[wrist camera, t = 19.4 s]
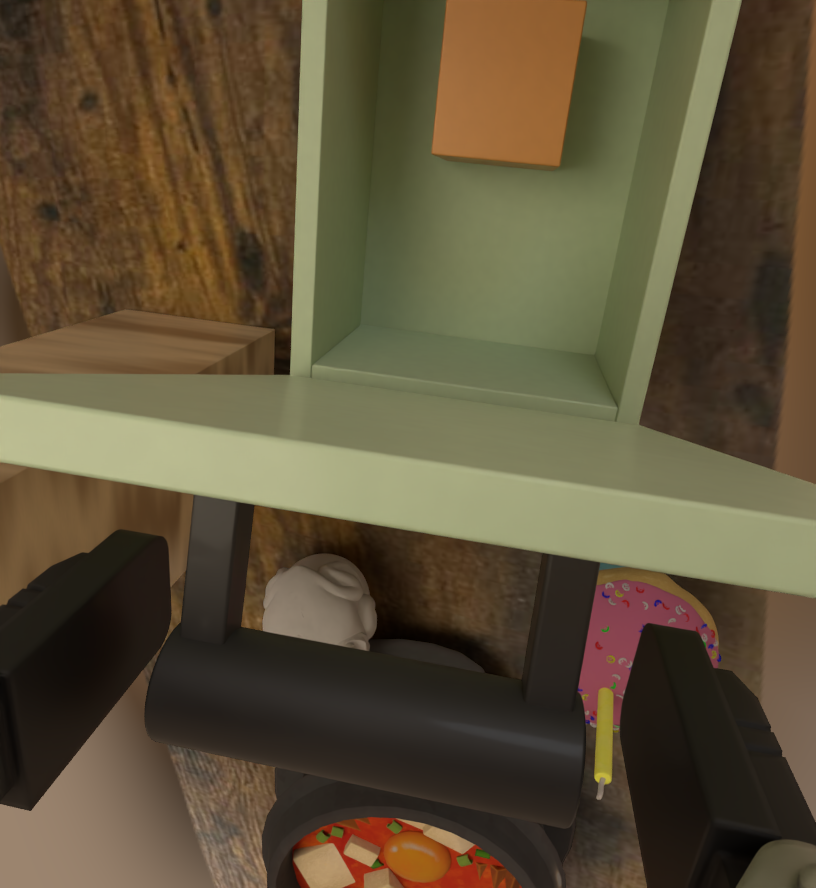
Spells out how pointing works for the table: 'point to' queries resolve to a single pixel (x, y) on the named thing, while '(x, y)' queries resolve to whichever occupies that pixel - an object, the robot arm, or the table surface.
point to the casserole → (402, 829)
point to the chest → (497, 211)
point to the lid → (414, 509)
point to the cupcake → (629, 644)
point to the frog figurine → (321, 602)
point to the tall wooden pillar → (96, 500)
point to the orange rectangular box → (507, 81)
